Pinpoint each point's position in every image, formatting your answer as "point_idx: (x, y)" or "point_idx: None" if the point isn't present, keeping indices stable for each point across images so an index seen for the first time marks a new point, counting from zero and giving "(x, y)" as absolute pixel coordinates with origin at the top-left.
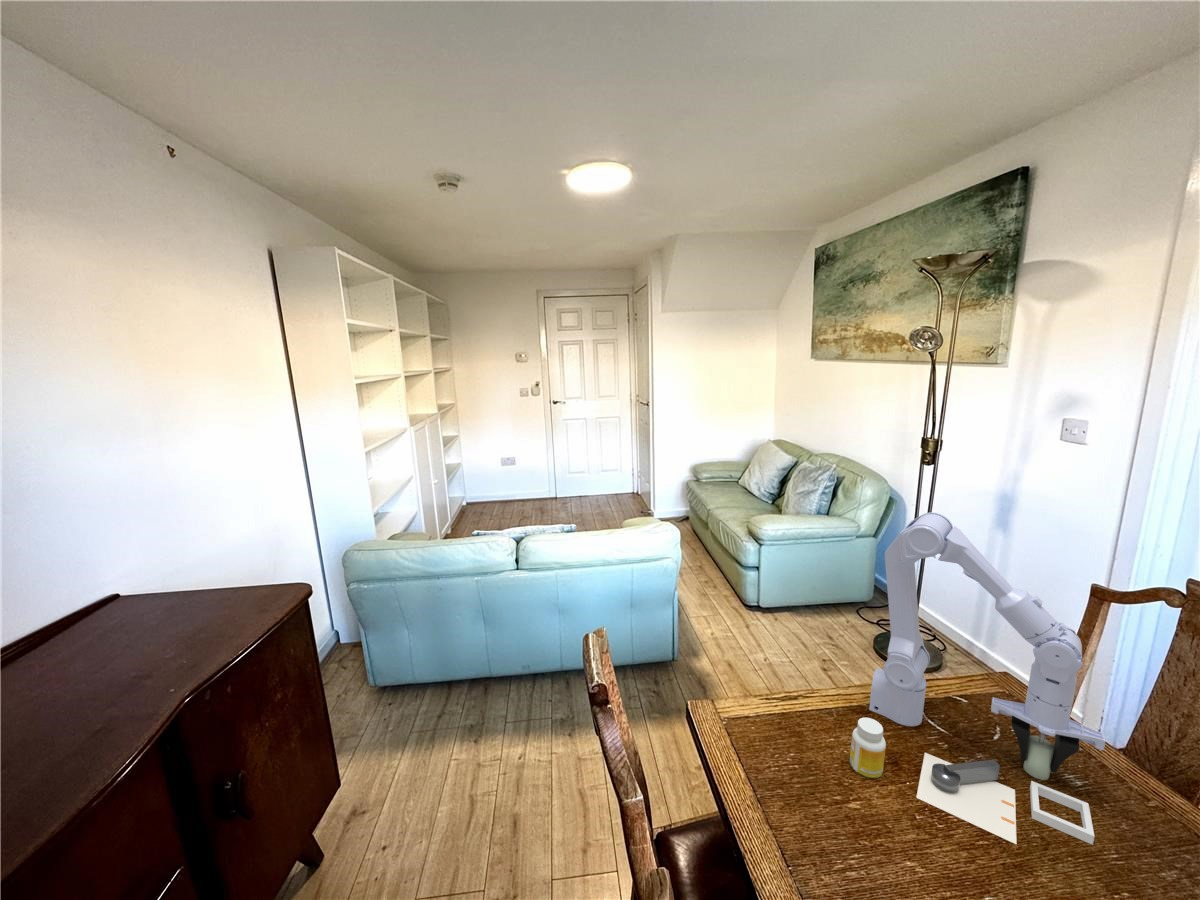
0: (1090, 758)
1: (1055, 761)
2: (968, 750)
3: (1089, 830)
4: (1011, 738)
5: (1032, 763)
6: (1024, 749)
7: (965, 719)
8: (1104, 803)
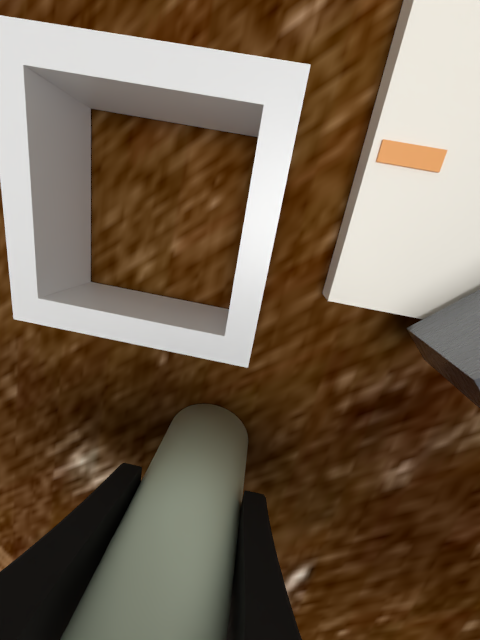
0: None
1: (85, 533)
2: (436, 486)
3: (10, 67)
4: None
5: (217, 484)
6: (257, 580)
7: (381, 625)
8: (14, 396)
